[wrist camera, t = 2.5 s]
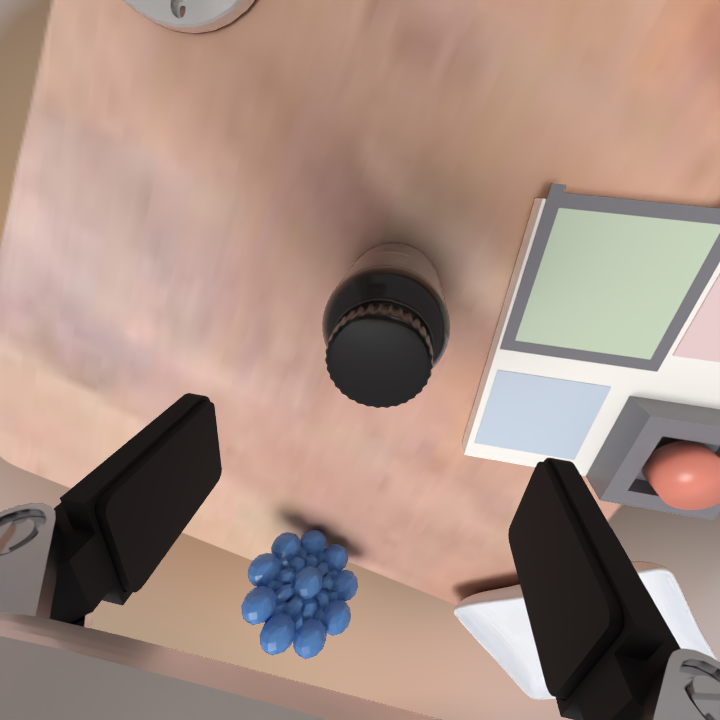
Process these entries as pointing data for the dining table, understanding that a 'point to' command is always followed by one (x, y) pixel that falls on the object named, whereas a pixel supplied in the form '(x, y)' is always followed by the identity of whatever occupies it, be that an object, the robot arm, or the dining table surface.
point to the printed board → (599, 326)
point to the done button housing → (649, 450)
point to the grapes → (299, 593)
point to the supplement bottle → (386, 326)
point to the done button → (685, 475)
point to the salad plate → (515, 638)
